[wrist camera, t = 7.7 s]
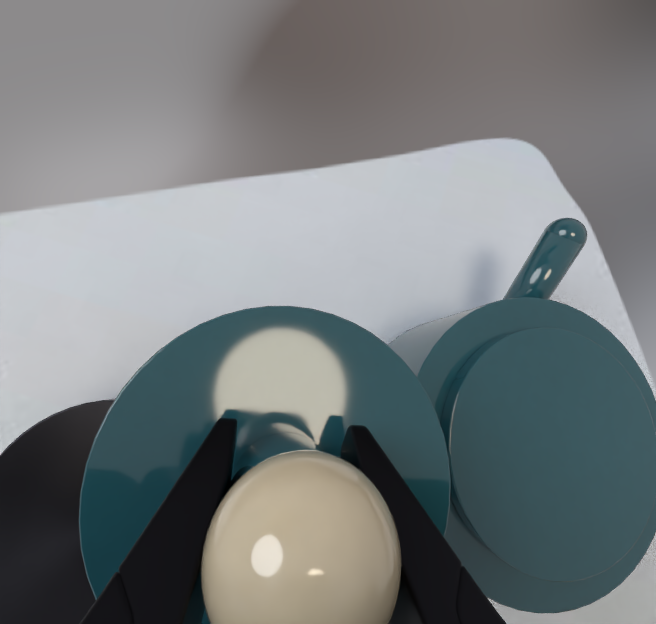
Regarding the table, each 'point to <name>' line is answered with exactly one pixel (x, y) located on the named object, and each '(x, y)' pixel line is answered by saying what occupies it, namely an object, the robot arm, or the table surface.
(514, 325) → the teapot
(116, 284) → the table surface
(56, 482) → the tea tin
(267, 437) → the teapot lid
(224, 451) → the robot arm
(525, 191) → the table surface
